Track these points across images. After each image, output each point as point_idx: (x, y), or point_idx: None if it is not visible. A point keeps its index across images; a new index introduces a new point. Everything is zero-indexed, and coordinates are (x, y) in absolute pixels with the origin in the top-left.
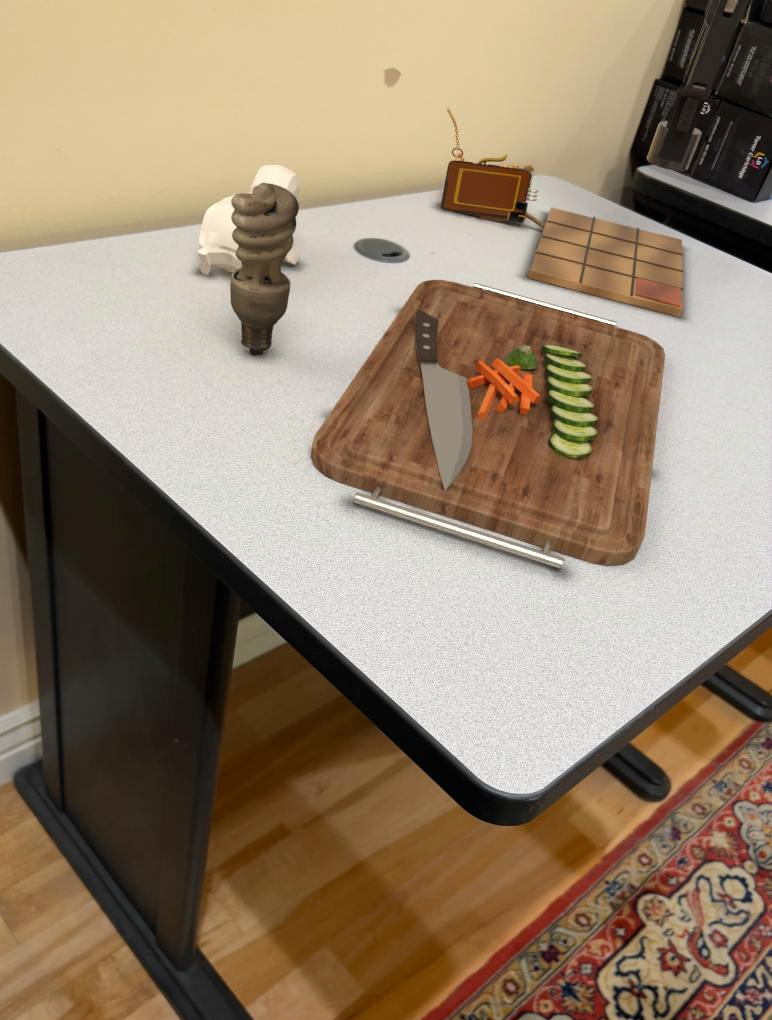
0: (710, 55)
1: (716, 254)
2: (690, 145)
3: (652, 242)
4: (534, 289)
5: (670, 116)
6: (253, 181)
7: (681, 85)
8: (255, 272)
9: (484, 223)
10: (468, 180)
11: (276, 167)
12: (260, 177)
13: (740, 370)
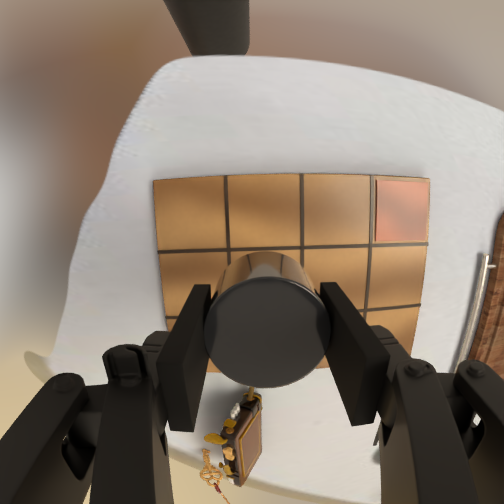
0: None
1: (146, 123)
2: (313, 287)
3: (203, 225)
4: (428, 339)
5: (205, 373)
6: None
7: (191, 431)
8: None
9: (271, 419)
10: (249, 463)
11: None
12: None
13: (492, 126)
